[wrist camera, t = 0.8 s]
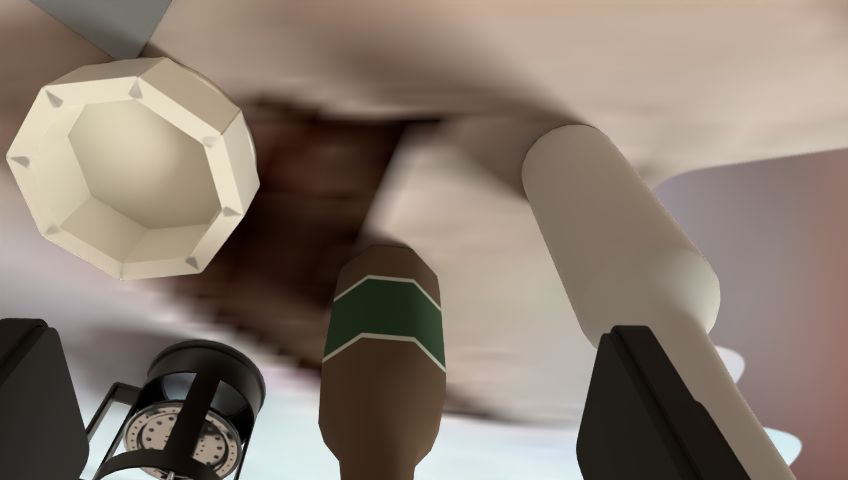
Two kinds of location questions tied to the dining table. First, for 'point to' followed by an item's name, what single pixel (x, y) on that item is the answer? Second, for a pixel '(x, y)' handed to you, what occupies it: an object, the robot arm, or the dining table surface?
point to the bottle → (637, 273)
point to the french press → (184, 416)
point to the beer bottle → (383, 366)
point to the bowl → (136, 166)
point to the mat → (110, 22)
